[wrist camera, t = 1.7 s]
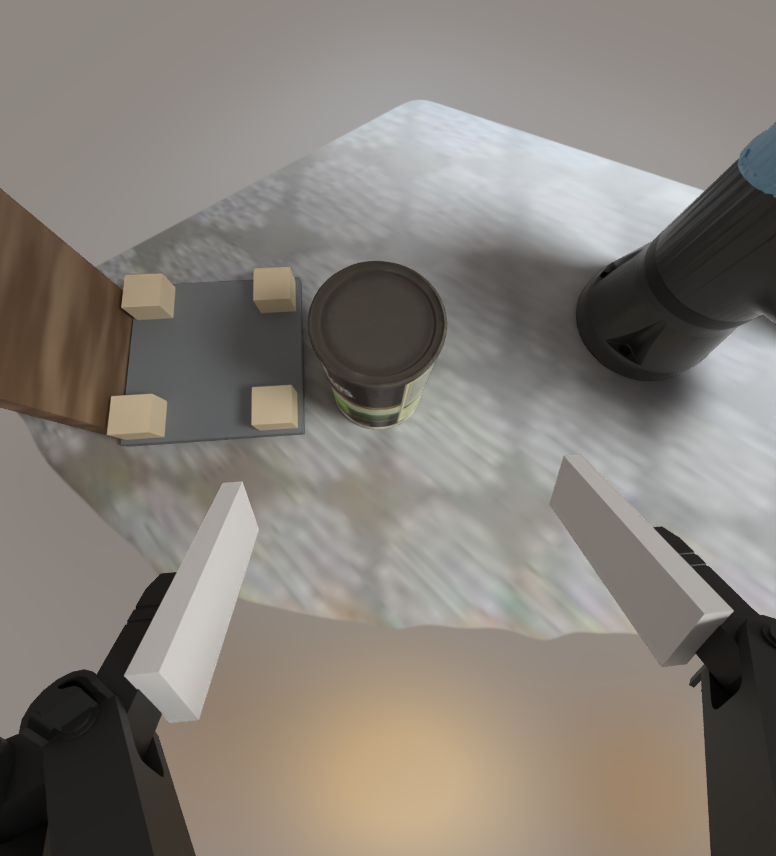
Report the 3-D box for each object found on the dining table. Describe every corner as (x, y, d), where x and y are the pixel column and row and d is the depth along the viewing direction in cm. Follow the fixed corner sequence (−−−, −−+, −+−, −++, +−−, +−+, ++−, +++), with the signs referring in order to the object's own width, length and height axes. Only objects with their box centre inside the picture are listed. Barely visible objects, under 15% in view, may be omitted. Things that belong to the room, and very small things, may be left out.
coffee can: (355, 445, 37) (340, 409, 23) (319, 365, 39) (286, 288, 25) (438, 408, 38) (472, 353, 24) (400, 332, 40) (410, 241, 26)
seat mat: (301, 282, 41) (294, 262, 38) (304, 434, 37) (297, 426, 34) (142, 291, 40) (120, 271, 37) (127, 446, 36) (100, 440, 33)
